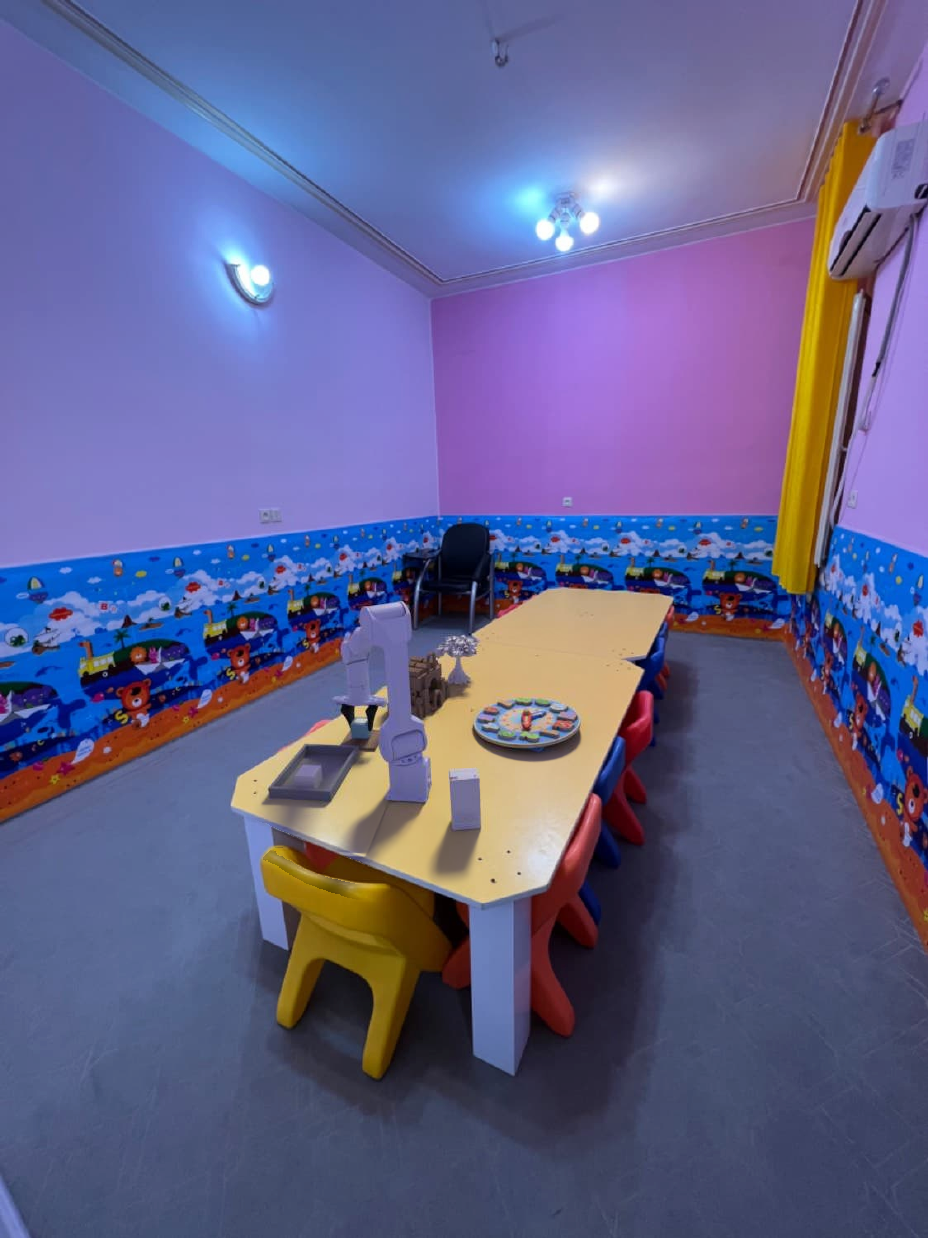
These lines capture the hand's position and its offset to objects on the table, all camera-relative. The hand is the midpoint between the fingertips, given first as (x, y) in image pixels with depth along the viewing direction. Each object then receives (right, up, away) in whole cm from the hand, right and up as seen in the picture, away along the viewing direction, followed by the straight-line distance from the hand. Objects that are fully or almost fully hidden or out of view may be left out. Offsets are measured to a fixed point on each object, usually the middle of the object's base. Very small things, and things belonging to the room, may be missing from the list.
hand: (362, 729), depth 134 cm
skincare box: (+28, -13, -32) cm, 45 cm away
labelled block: (0, -1, 0) cm, 1 cm away
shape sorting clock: (+46, -2, +8) cm, 47 cm away
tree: (+26, +8, +43) cm, 51 cm away
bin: (-8, -8, -15) cm, 18 cm away
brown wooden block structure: (+14, +2, +24) cm, 28 cm away
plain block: (-8, -9, -19) cm, 23 cm away
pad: (0, -4, +1) cm, 4 cm away
